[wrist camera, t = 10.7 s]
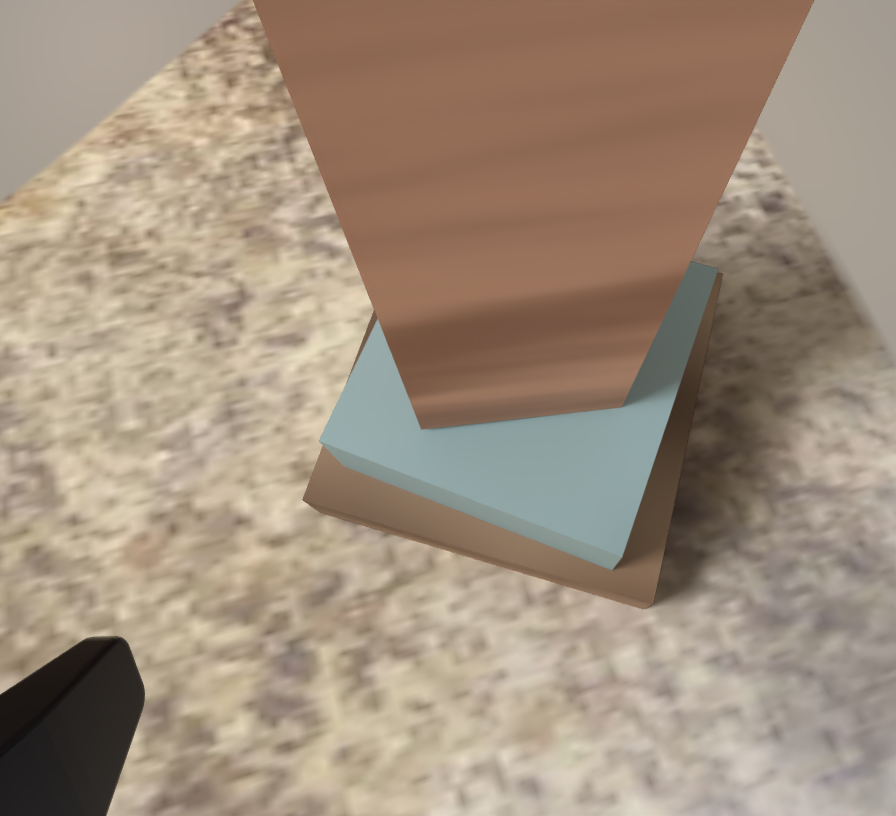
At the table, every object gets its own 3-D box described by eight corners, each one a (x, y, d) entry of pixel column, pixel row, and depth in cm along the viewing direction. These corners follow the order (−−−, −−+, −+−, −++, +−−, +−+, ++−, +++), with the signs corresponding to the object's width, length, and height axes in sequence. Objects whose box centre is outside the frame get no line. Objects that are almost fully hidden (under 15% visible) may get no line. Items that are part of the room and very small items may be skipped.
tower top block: (611, 570, 18) (622, 557, 16) (344, 466, 20) (318, 441, 18) (697, 313, 21) (718, 268, 18) (448, 241, 22) (438, 192, 20)
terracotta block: (621, 407, 17) (898, -179, 5) (421, 429, 18) (221, -81, 5) (589, 234, 19) (741, -524, 7) (407, 256, 19) (231, -437, 7)
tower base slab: (640, 611, 20) (653, 604, 18) (326, 517, 22) (302, 500, 20) (704, 312, 23) (723, 273, 21) (422, 254, 25) (410, 213, 23)
